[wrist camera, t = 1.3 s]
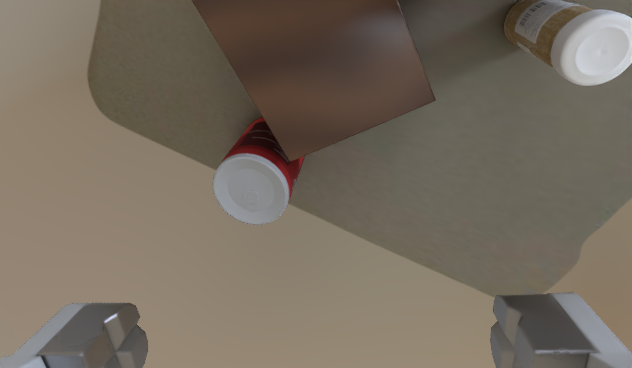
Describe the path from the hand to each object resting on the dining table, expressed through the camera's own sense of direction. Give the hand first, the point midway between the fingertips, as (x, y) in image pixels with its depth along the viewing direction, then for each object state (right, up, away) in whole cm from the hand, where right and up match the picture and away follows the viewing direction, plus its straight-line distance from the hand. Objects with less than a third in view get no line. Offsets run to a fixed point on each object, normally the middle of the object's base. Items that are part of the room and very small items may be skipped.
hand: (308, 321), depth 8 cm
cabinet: (+2, +19, +29) cm, 35 cm away
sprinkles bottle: (+20, +19, +27) cm, 38 cm away
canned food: (-5, +8, +37) cm, 38 cm away
